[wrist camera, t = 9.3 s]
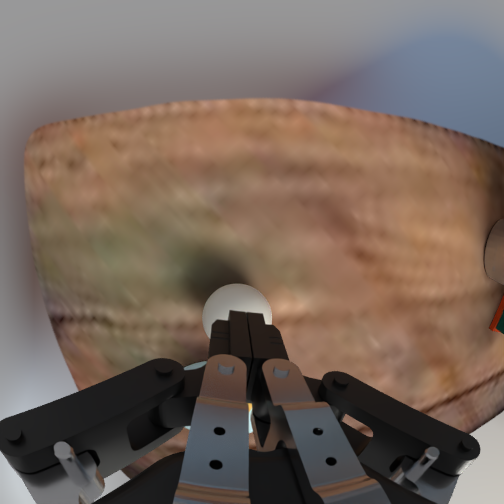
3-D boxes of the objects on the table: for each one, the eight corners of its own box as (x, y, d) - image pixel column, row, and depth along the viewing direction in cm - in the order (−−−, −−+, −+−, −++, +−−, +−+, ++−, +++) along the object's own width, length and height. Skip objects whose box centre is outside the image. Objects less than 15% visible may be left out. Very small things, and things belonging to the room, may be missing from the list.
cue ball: (268, 352, 20) (252, 367, 24) (288, 286, 23) (270, 313, 28) (191, 323, 20) (191, 344, 25) (220, 260, 23) (214, 291, 28)
